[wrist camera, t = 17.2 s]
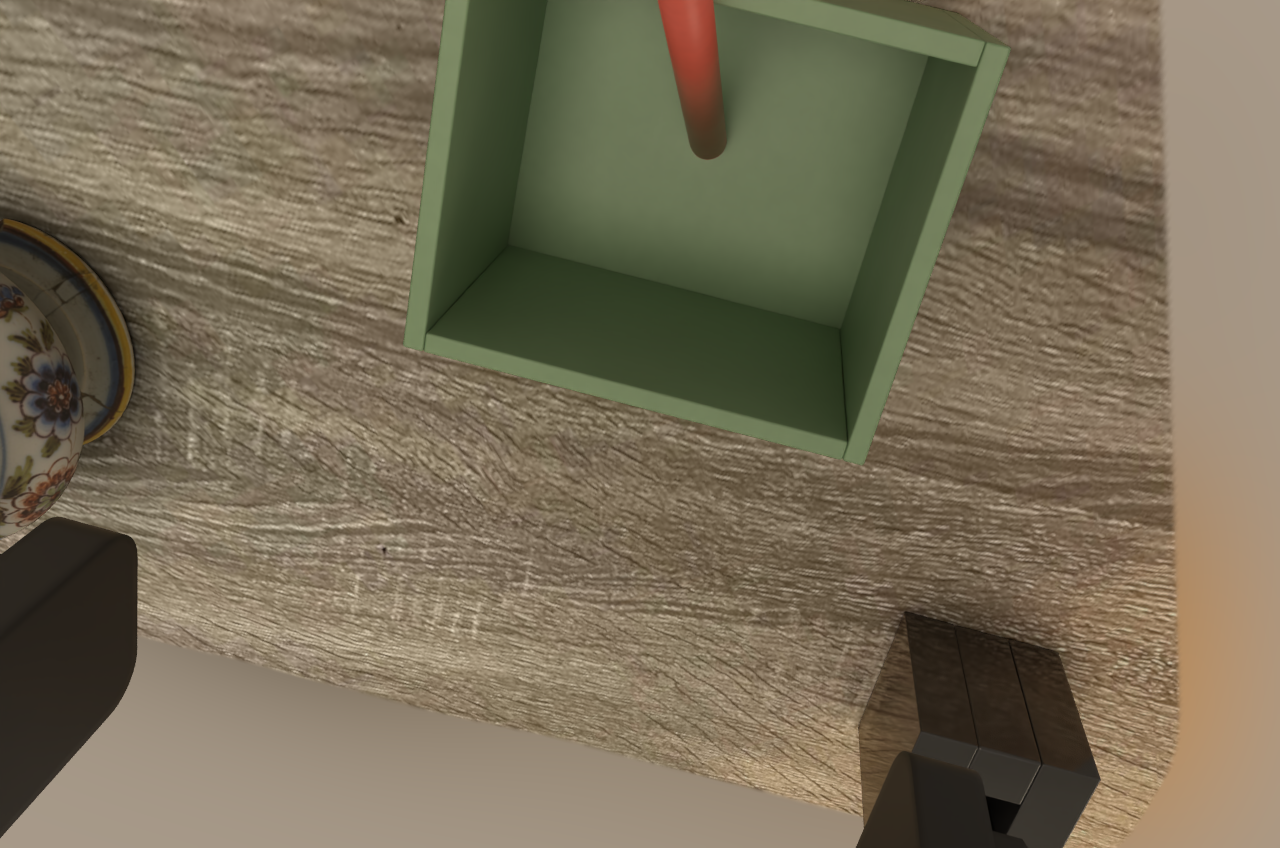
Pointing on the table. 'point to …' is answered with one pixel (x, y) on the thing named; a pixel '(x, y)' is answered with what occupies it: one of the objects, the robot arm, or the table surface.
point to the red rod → (696, 72)
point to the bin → (697, 205)
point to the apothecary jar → (53, 369)
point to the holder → (982, 725)
